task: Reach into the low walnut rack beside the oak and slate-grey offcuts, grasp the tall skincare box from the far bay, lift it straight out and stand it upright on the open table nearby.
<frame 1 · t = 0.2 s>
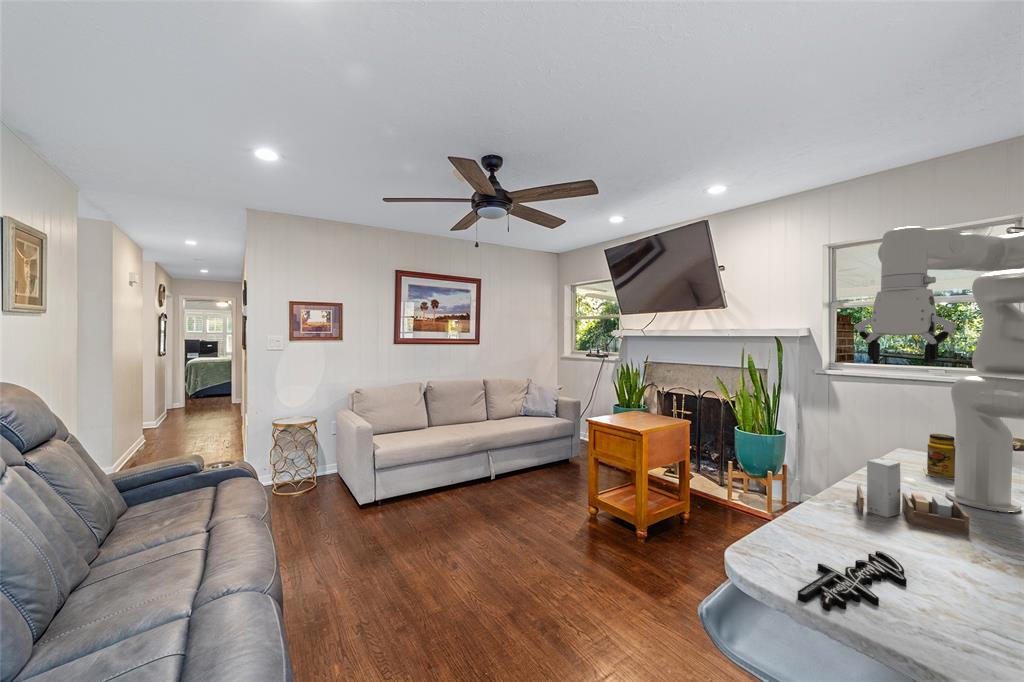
hand: (900, 361, 94), 36 cm above the kitchen counter, tool pointing down, fingers open, 9 cm apart
skincare box: (883, 513, 100), resting in walnut rack
nameplate: (854, 585, 72), on the kitchen counter
condiment: (941, 475, 127), on the kitchen counter
oak offcut: (919, 519, 96), resting in walnut rack
slate offcut: (940, 523, 94), resting in walnut rack
walnut rack: (907, 516, 97), on the kitchen counter
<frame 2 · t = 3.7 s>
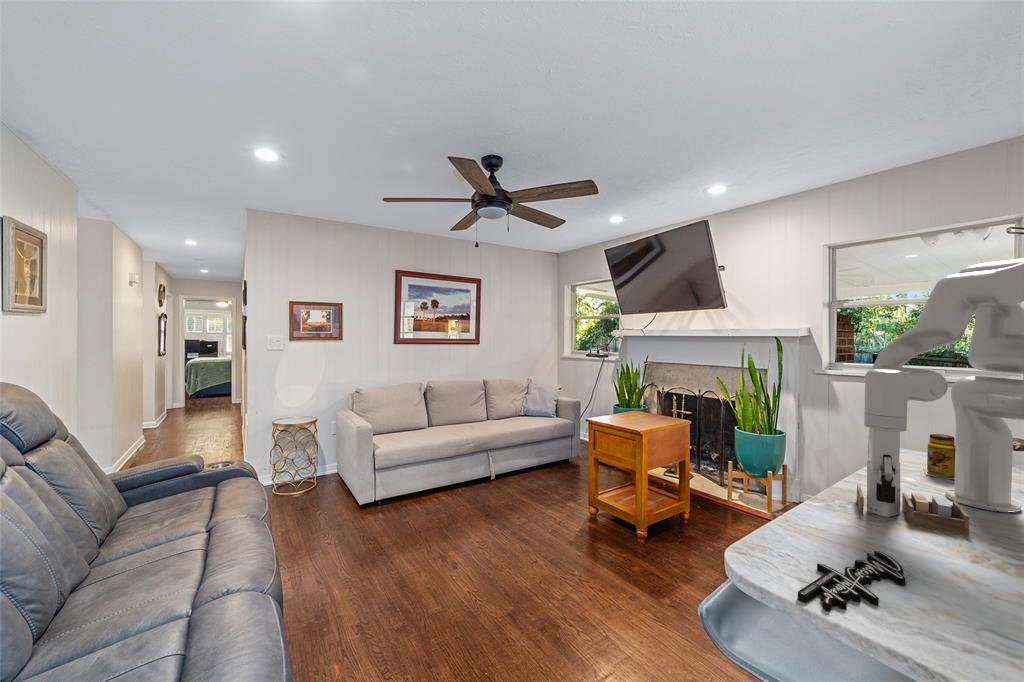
hand: (883, 496, 100), 4 cm above the kitchen counter, tool pointing down, fingers closed on skincare box, 7 cm apart
skincare box: (882, 512, 100), resting in walnut rack, touching gripper
everything else where it was.
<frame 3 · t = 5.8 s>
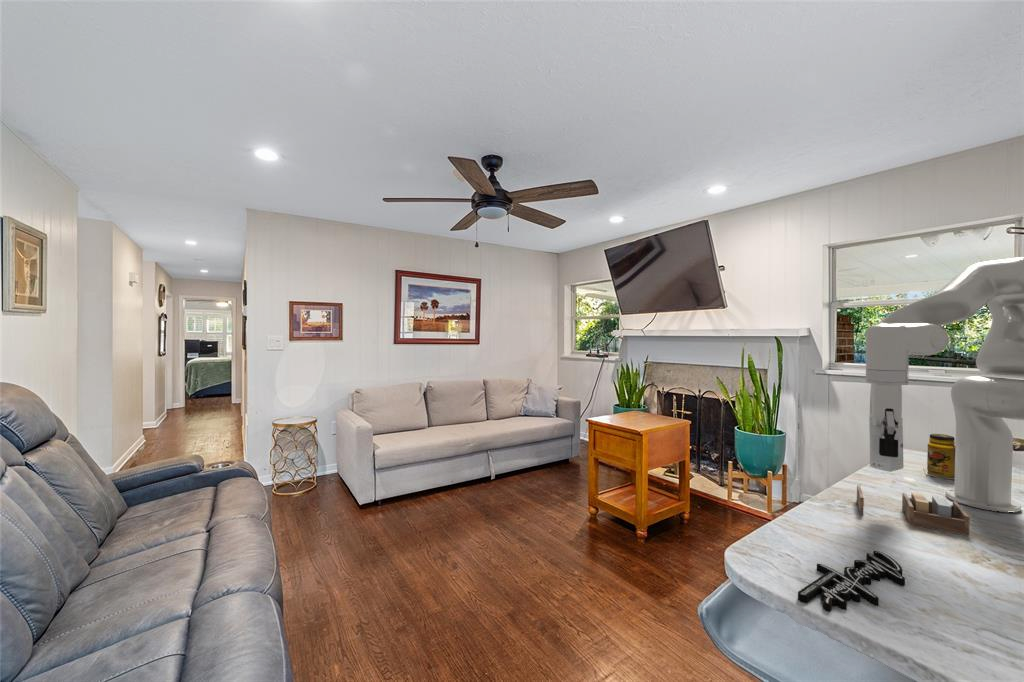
hand: (886, 451, 100), 14 cm above the kitchen counter, tool pointing down, fingers closed on skincare box, 7 cm apart
skincare box: (886, 468, 100), point 10 cm above the kitchen counter, touching gripper
everything else where it was.
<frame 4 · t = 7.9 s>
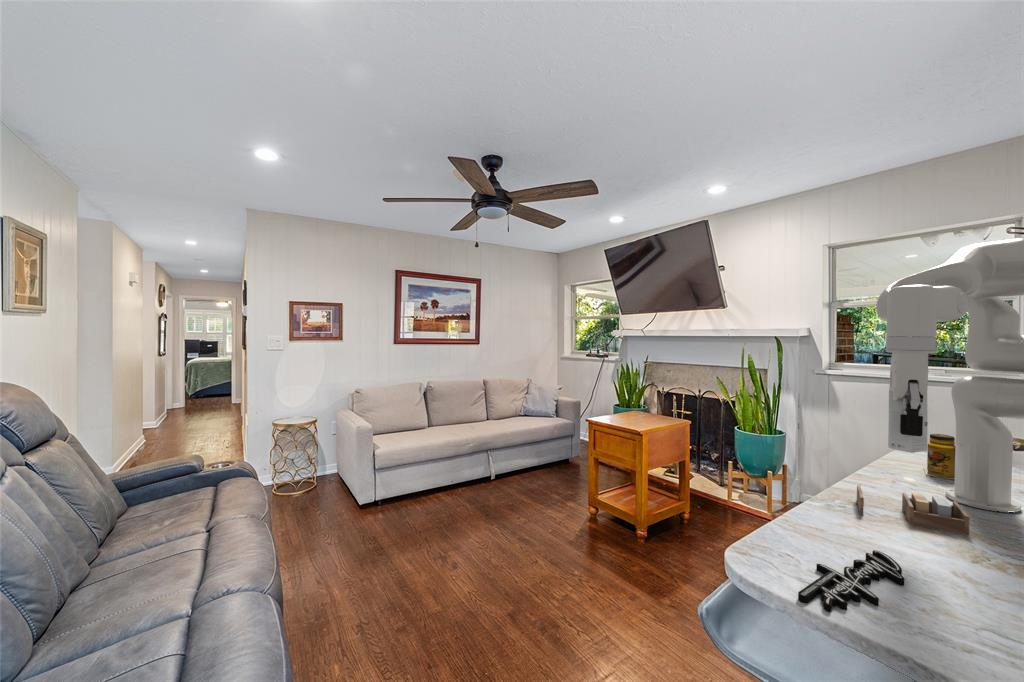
hand: (908, 431, 87), 22 cm above the kitchen counter, tool pointing down, fingers closed on skincare box, 7 cm apart
skincare box: (907, 450, 87), point 18 cm above the kitchen counter, touching gripper
everything else where it was.
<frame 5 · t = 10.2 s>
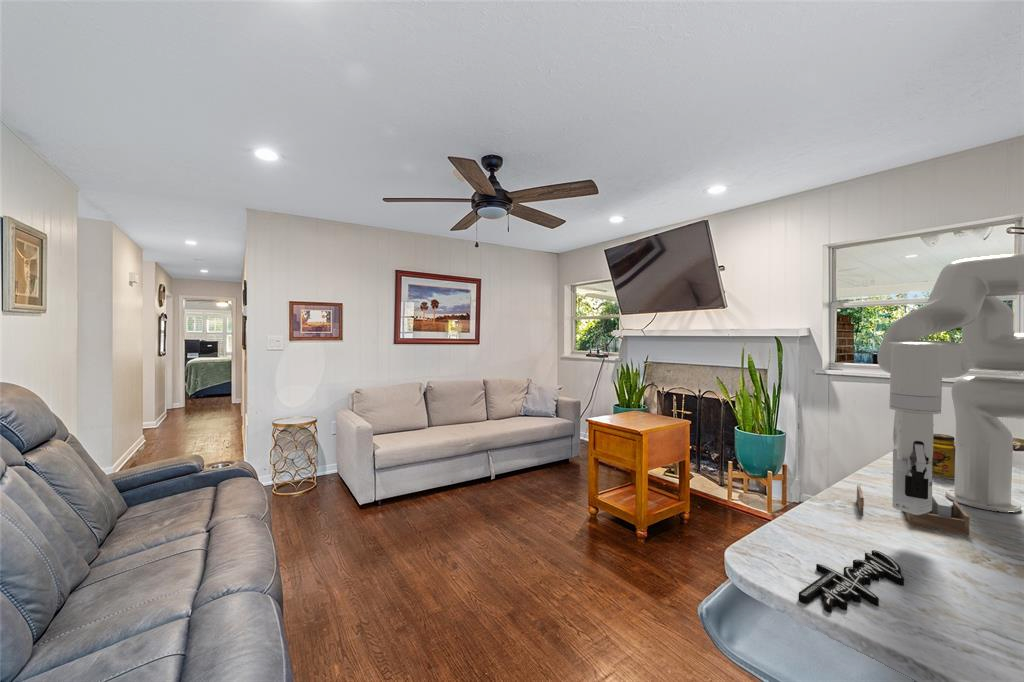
hand: (912, 490, 85), 11 cm above the kitchen counter, tool pointing down, fingers closed on skincare box, 7 cm apart
skincare box: (911, 510, 85), point 7 cm above the kitchen counter, touching gripper
everything else where it was.
when the fingers open (5 cm above the kitchen counter, at t = 12.3 s): skincare box drops 1 cm, on the kitchen counter.
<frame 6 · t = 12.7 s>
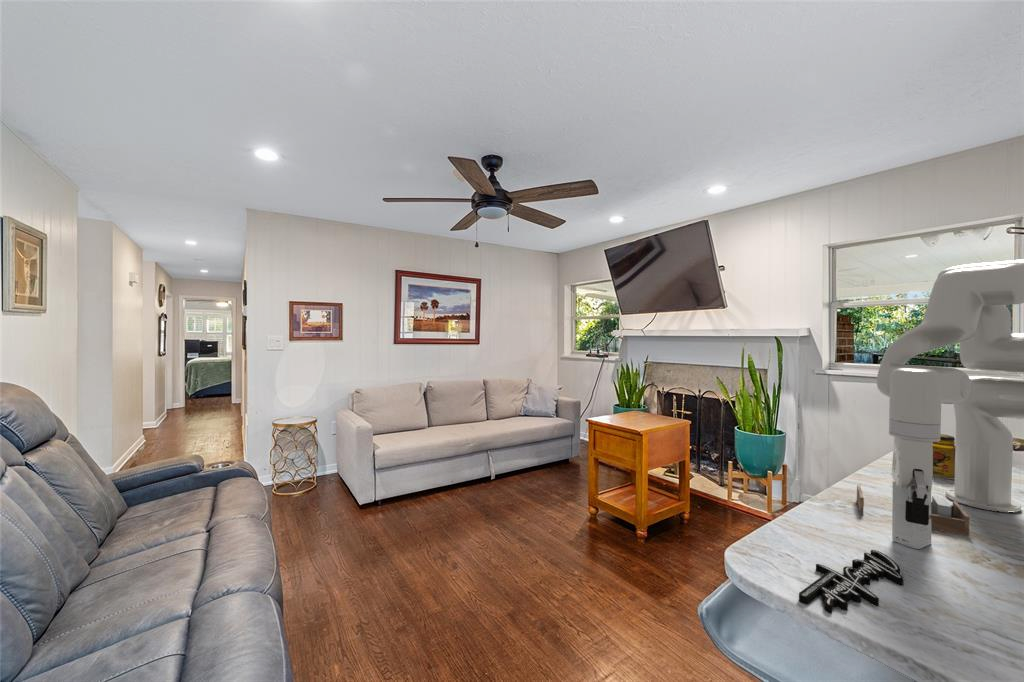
hand: (912, 514, 85), 6 cm above the kitchen counter, tool pointing down, fingers open, 9 cm apart
skincare box: (911, 542, 86), on the kitchen counter
everything else where it was.
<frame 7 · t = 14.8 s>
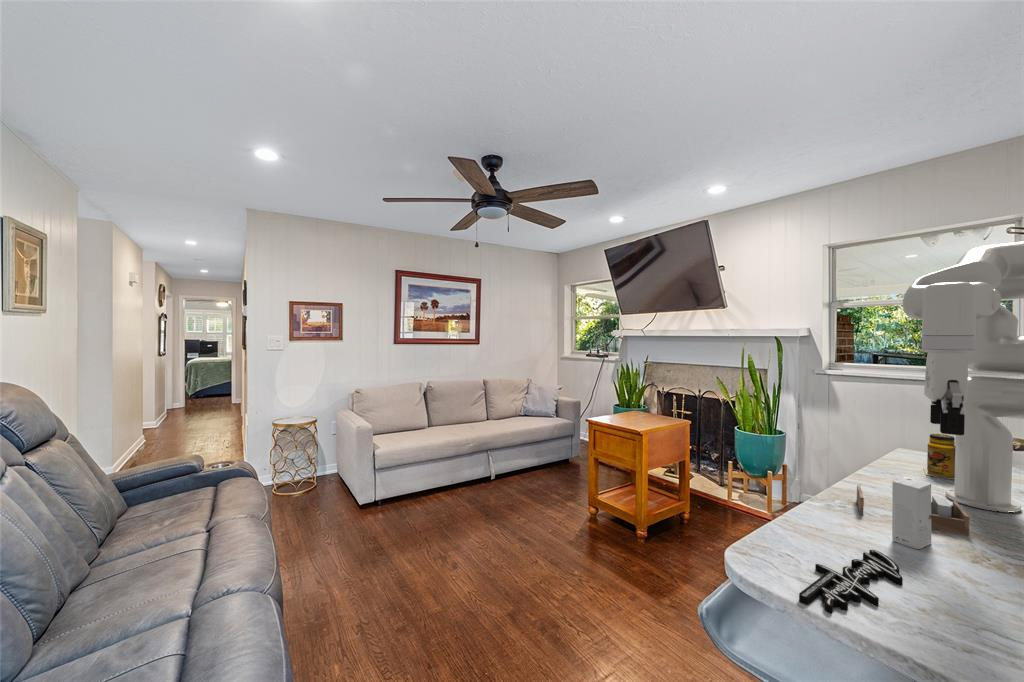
hand: (946, 428, 85), 23 cm above the kitchen counter, tool pointing down, fingers open, 9 cm apart
nothing on the kitchen counter moved.
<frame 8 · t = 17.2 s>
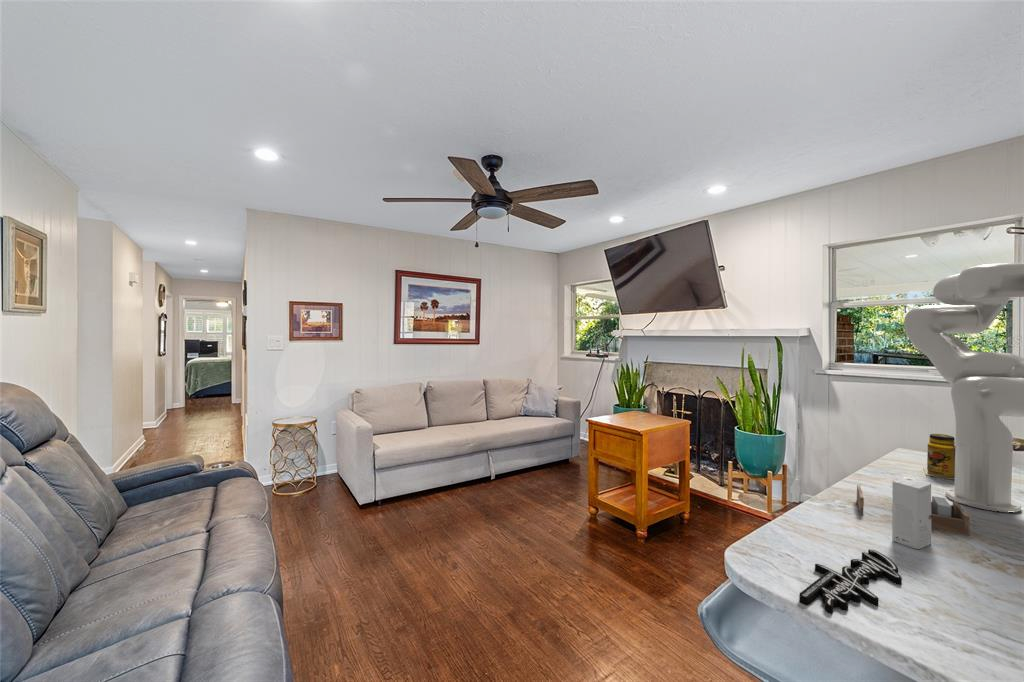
nothing on the kitchen counter moved.
at the end: skincare box inside the target area (0.5 cm from its centre), on the kitchen counter; skincare box tilted 0°; oak offcut moved 0.1 cm from its start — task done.
